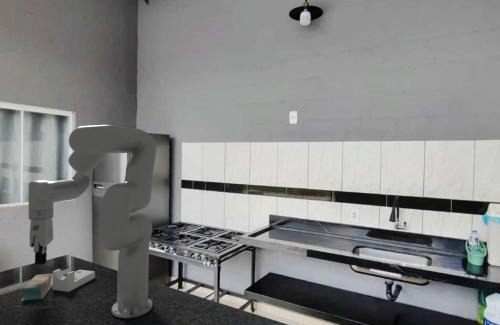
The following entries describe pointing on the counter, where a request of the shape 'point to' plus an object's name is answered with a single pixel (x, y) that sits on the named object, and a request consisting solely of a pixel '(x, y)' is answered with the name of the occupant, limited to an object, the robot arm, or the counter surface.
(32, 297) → the maple block
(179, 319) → the counter surface
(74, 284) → the bracket
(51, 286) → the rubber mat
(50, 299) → the counter surface
